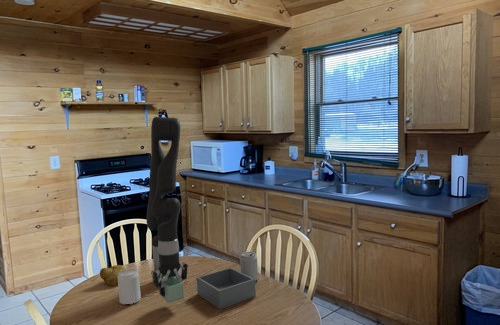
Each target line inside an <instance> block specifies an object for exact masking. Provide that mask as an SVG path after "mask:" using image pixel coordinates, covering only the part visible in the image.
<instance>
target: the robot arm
mask: <svg viewBox="0 0 500 325" xmlns="http://www.w3.org/2000/svg"><path fill="white" fill-rule="evenodd" d="M150 130H151V131H150V136H151V137H150V140H151V141H150V142H151V143H150V144H151V147H150V148H151V150H150V151H151V153H150V154H151V157H150V166H149V188H148V189H149V191H148V194H149V195H148V202H147V209H146V210H147V211H146V227H147V228H148V229H149V231H157V235H155V236H153V237H152V239H151V245H152V247H151V248H152V249H151V250H152V261H153V270H151V272H150V273H151V276H152V282H153V285H154V287H156V288H158V289H159V290H160V294H159V296H161V297H162V296H163V297H164V296H165V288H164V284H165V282H166V281H167V278H170V277H176V278H177V279H178V280H180V281H181V282H182V283H183V281H184V280H187V277H188V267H189V266H188V264H187V263H186V262H182V263H180V246H179V244H180V243H179V240H178V222H179V221H178V220H179V216H180V213H181V212H180V211H181V202H180V200H179V199H178V198H176V197H169V198H168V197H166V198H165V196H166V195H168V194H171V193H174V192H176V188H177V163H178V156H179V149H180V147H179V146H180V139H181V138H180V137H181V123H180V120H179V119H178V118H177V117H169V116H168V117H165V116H154V117H153V119H152V121H151V127H150ZM160 141H164V142H166V141H167V142H170V148H169V150H168V152H167V153H166V155H165V153H164V151H163V149H162V146H161V144H160ZM180 269H181V274H180V272H179V271H180ZM159 279H160V281H159ZM159 290H158V291H159ZM163 297H162V298H163Z"/></svg>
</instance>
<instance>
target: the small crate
mask: <svg viewBox="0 0 500 325" xmlns="http://www.w3.org/2000/svg"><path fill="white" fill-rule="evenodd" d="M159 281H160V279H159ZM164 288H165V296H164V297H163V296H161V297H162V298H163V299H164V300H165V301H166V302H167V303H169V304H170V303H174V302H177V301H180V300H183V299H184V298H185V296H184V295H185V293H184V283H183V281H182V282H181V281H180V280H178V279H177V278H176V277H170V278H167V281H166V282H165V284H164ZM158 292H159V295H160V290H158Z"/></svg>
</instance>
